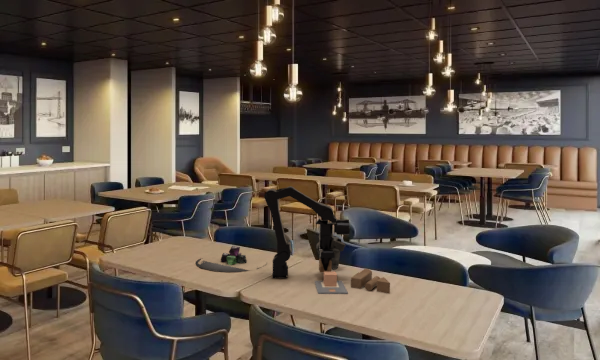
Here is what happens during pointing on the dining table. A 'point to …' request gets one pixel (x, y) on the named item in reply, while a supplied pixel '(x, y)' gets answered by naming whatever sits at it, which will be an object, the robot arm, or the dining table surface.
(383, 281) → the wooden block set
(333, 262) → the beverage cup
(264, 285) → the dining table surface
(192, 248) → the dining table surface
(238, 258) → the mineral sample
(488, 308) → the dining table surface
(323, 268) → the walnut block
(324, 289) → the grey flat plate
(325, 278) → the terracotta block
